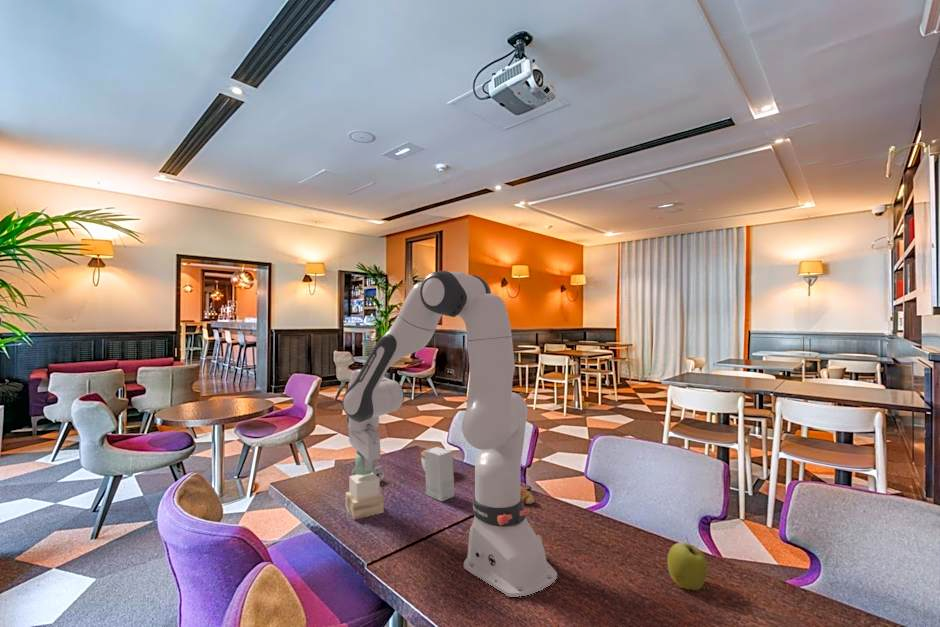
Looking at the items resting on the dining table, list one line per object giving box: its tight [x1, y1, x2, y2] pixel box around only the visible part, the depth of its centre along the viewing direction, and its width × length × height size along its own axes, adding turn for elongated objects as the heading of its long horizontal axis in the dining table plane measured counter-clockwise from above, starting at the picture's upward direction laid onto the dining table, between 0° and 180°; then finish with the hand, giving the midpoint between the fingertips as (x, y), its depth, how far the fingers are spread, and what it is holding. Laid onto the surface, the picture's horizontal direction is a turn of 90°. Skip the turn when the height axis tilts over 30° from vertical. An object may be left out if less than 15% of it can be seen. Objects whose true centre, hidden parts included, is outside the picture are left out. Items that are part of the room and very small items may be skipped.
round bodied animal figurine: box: [351, 460, 385, 483], centre depth 150 cm, size 7×12×8 cm, turn 64°
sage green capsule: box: [355, 453, 373, 475], centre depth 127 cm, size 5×5×5 cm
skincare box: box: [424, 446, 455, 502], centre depth 137 cm, size 8×6×15 cm
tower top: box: [348, 472, 381, 501], centre depth 127 cm, size 7×7×5 cm
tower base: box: [344, 491, 385, 521], centre depth 127 cm, size 9×9×5 cm
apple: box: [667, 536, 709, 591], centre depth 91 cm, size 8×8×10 cm
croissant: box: [521, 483, 535, 505], centre depth 136 cm, size 21×10×8 cm, turn 54°
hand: (364, 466), depth 127 cm, fingers closed on sage green capsule, 5 cm apart
